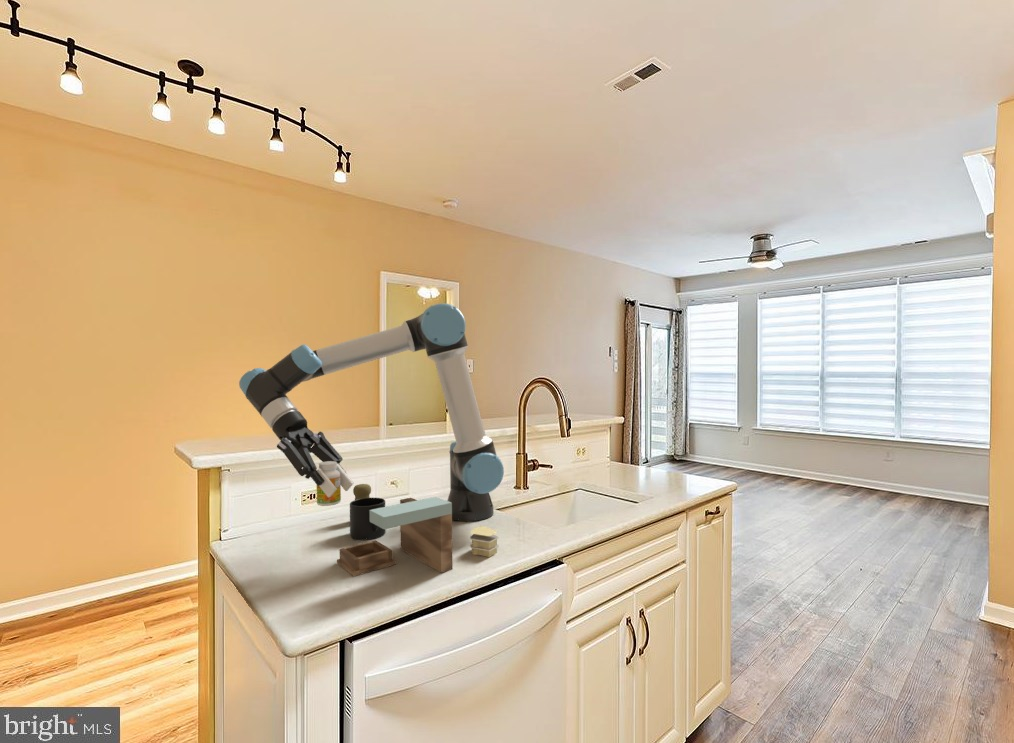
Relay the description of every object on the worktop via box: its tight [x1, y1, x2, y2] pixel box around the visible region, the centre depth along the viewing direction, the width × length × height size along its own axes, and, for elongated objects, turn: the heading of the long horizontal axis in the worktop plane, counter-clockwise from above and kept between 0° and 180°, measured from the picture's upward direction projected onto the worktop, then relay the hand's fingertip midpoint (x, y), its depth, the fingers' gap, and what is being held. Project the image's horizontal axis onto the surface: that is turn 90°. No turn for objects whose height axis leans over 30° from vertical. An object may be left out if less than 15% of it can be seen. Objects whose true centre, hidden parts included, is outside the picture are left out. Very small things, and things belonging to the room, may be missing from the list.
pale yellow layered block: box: [469, 526, 499, 558], centre depth 120 cm, size 10×9×6 cm
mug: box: [349, 497, 387, 541], centre depth 133 cm, size 9×12×9 cm
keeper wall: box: [399, 497, 454, 573], centre depth 116 cm, size 3×19×12 cm, turn 40°
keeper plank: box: [370, 496, 452, 530], centre depth 107 cm, size 16×7×2 cm, turn 130°
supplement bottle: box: [316, 461, 342, 507], centre depth 116 cm, size 5×5×10 cm
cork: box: [352, 483, 372, 500], centre depth 147 cm, size 6×6×11 cm
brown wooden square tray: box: [336, 539, 397, 577], centre depth 114 cm, size 10×10×3 cm
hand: (341, 490), depth 115 cm, fingers closed on supplement bottle, 5 cm apart
